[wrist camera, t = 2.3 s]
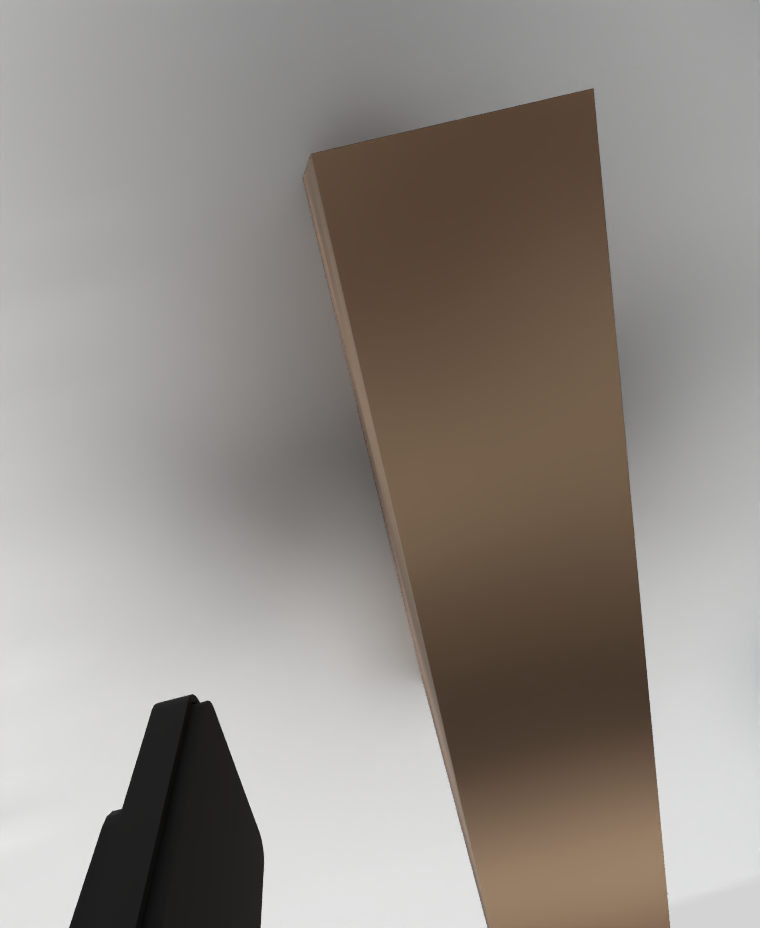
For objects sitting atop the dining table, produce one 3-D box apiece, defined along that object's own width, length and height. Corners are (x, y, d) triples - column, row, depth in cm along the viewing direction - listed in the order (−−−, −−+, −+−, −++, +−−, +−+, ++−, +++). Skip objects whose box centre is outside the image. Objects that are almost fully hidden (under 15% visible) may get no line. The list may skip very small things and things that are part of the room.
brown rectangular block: (303, 178, 16) (310, 154, 7) (434, 147, 16) (592, 87, 7) (422, 680, 21) (509, 1007, 12) (521, 655, 21) (673, 964, 12)
